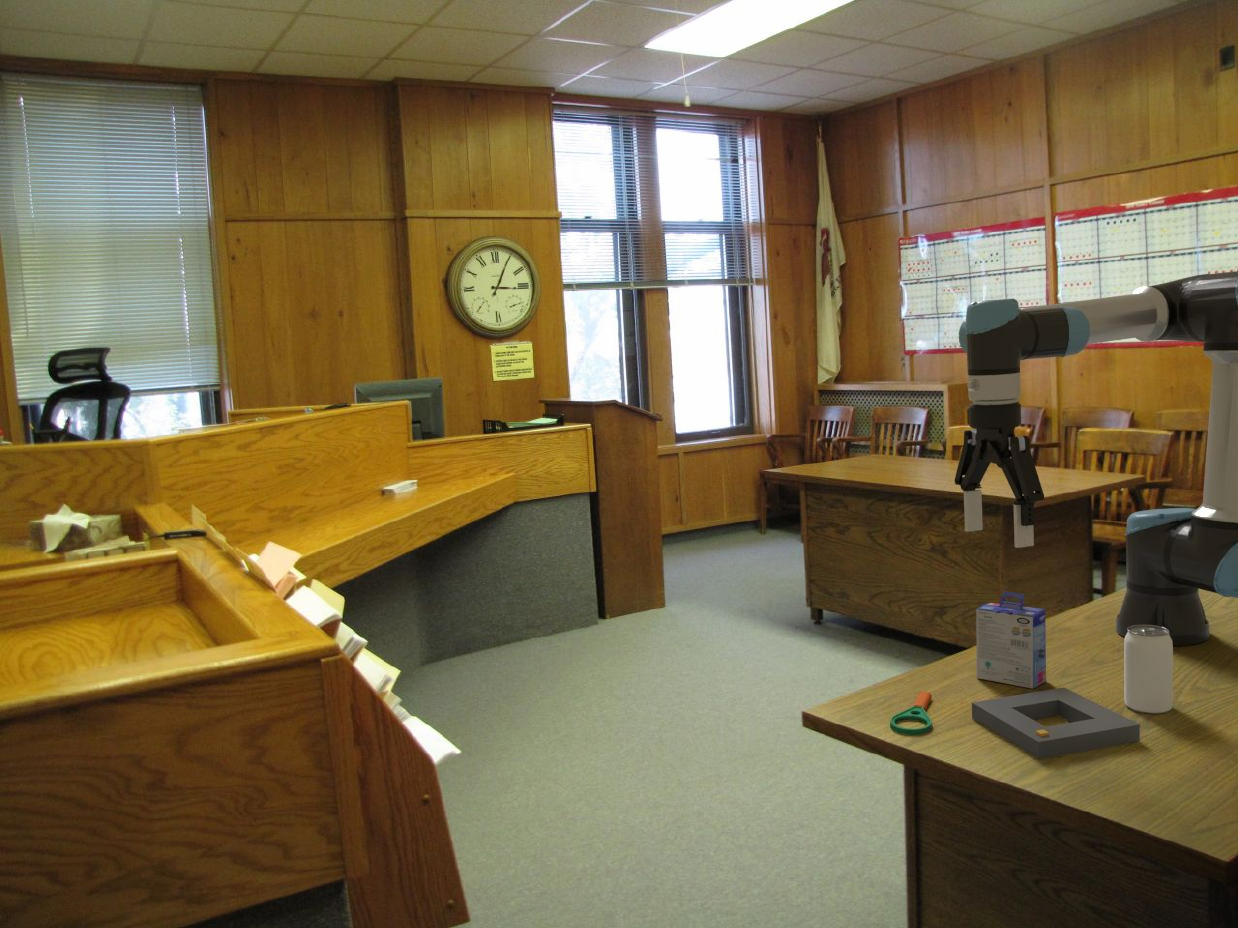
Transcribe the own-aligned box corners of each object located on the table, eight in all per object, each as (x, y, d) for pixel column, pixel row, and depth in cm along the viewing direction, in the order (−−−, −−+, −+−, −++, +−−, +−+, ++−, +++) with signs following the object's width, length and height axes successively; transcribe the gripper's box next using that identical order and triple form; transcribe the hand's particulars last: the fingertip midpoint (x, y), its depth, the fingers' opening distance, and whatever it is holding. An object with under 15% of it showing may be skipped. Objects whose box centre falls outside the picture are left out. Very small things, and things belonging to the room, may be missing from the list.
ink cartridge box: (1048, 680, 167) (1047, 594, 165) (1035, 690, 163) (1033, 602, 161) (989, 669, 174) (988, 587, 172) (975, 679, 170) (973, 594, 168)
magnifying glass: (927, 739, 148) (927, 728, 148) (885, 734, 151) (885, 723, 150) (945, 703, 161) (945, 693, 161) (906, 699, 164) (906, 689, 164)
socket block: (1064, 702, 157) (1064, 684, 157) (1139, 741, 142) (1139, 721, 141) (972, 718, 153) (971, 699, 153) (1038, 759, 138) (1038, 739, 138)
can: (1168, 700, 155) (1168, 624, 154) (1176, 716, 149) (1176, 637, 148) (1121, 697, 158) (1121, 622, 156) (1127, 713, 151) (1127, 635, 150)
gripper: (930, 399, 166) (934, 527, 169) (1021, 408, 142) (1024, 556, 145) (971, 395, 168) (975, 522, 170) (1068, 403, 143) (1071, 550, 146)
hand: (997, 538), depth 158 cm, fingers open, 13 cm apart
